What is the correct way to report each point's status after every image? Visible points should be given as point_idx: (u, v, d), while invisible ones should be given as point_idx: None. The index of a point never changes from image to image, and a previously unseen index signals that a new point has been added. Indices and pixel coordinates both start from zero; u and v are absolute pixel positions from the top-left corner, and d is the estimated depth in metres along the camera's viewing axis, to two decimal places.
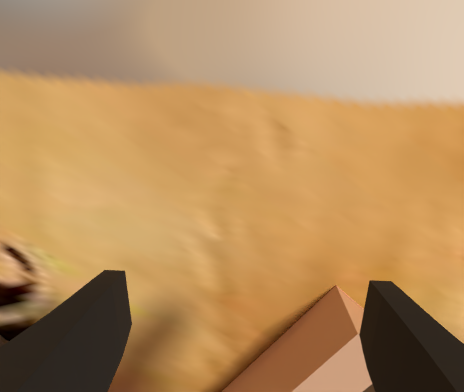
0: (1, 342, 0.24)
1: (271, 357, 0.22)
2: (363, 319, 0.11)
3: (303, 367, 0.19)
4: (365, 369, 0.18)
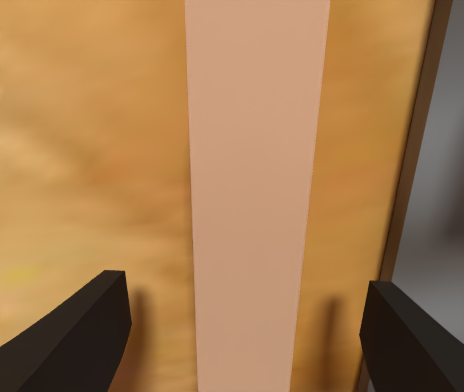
0: None
1: None
2: (363, 319, 0.11)
3: None
4: (279, 68, 0.07)
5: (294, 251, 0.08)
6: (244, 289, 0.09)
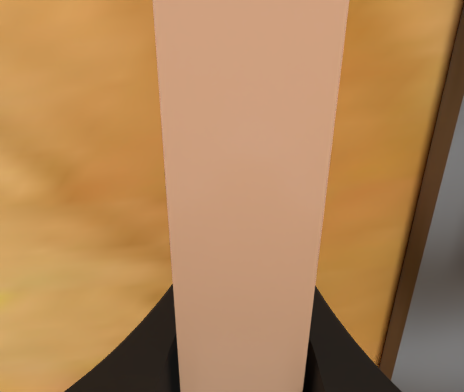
0: None
1: None
2: None
3: None
4: (280, 78, 0.05)
5: (301, 305, 0.07)
6: (239, 348, 0.07)
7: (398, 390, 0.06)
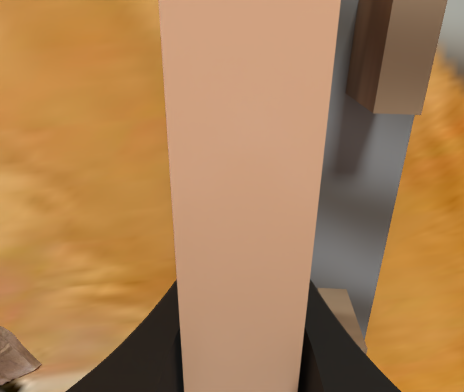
0: None
1: None
2: None
3: None
4: (277, 77, 0.06)
5: (297, 291, 0.07)
6: (238, 333, 0.08)
7: (397, 390, 0.06)
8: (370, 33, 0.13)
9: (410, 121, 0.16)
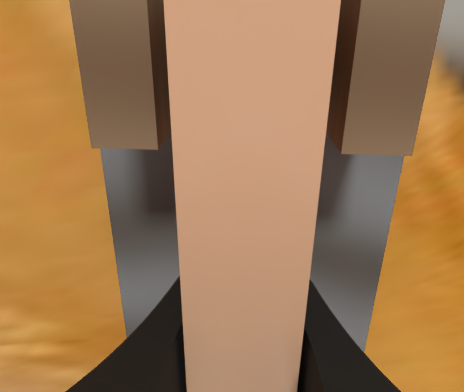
0: None
1: None
2: None
3: None
4: (278, 79, 0.06)
5: (297, 288, 0.07)
6: (240, 330, 0.08)
7: (397, 390, 0.06)
8: (337, 36, 0.09)
9: None
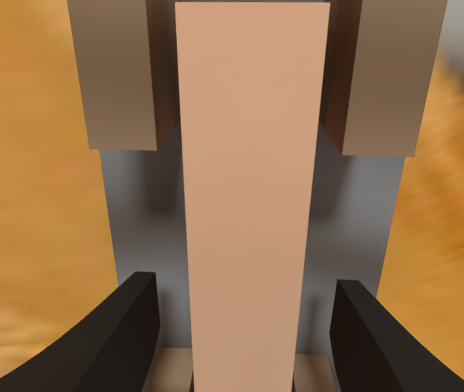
0: None
1: None
2: (332, 318, 0.11)
3: None
4: (276, 76, 0.06)
5: (294, 266, 0.08)
6: (242, 304, 0.09)
7: None
8: (338, 35, 0.09)
9: None
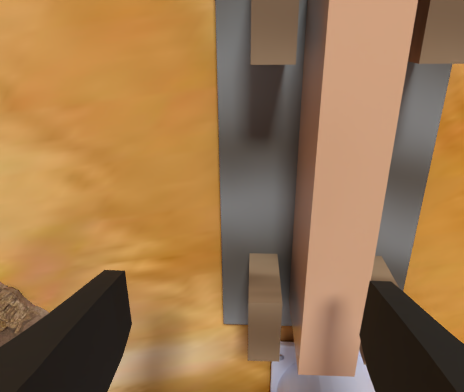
0: None
1: (303, 129, 0.16)
2: (363, 319, 0.11)
3: (317, 86, 0.13)
4: (389, 4, 0.11)
5: (388, 137, 0.12)
6: (350, 168, 0.13)
7: None
8: None
9: (445, 82, 0.16)
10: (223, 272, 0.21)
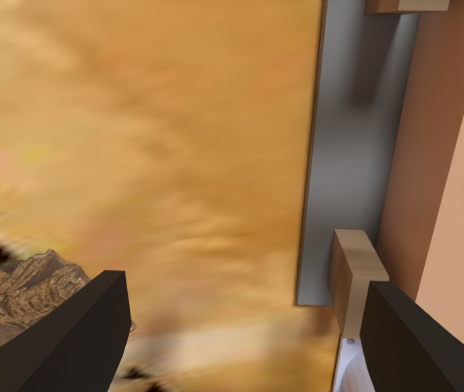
0: None
1: (419, 92, 0.15)
2: (363, 319, 0.11)
3: None
4: None
5: None
6: None
7: None
8: None
9: None
10: (304, 249, 0.20)
